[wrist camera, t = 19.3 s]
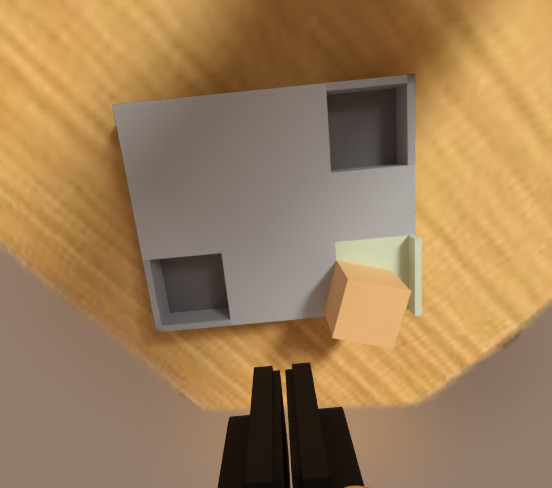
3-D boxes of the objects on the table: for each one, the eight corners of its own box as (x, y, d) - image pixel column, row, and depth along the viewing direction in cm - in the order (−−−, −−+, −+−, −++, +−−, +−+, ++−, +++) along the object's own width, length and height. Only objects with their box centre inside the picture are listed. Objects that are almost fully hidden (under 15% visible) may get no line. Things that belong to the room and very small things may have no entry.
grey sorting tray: (401, 80, 32) (422, 69, 28) (404, 295, 37) (421, 315, 33) (126, 108, 32) (104, 102, 28) (165, 318, 37) (151, 340, 33)
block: (391, 270, 33) (411, 291, 28) (376, 320, 34) (393, 349, 30) (336, 260, 33) (347, 279, 28) (323, 311, 34) (332, 338, 29)
